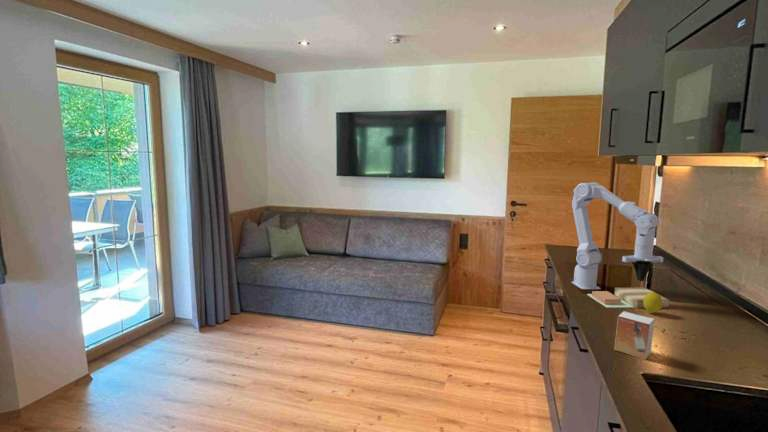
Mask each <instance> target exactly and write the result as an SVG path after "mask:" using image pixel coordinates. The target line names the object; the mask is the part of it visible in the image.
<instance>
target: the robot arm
mask: <svg viewBox="0 0 768 432" xmlns="http://www.w3.org/2000/svg"><path fill="white" fill-rule="evenodd" d="M572 190H573V198H572V201H571V207H572V212H573V218H574V223H575V229H576V233H577V238H578V243H579V245H578V247H577V248H576V258H575V260H576V262H577V264H576V265H575V267H574V272H573V281H571V283H572V284H573V285H574V286H576V287H578V288H579V289H580V290H601V287H600V286H597V281H598V271H599V270H598V269H599V264H600V263H601V262H602V259H603V256H602V254H601V252H600V250H599V247H598V245H597V244H596V243H595V242H594V239H593V232H592V228H591V224H590V217H589V212H588V207H587V206H588V205H589V204H590V202H592V200H594V199H601V200H603V201H605V202H607V203H608V204H609V205H612V206H613V207H615V208H617V210H618V212H619V214H621V215H622V216H624V217H625V218H626V219H627V220H629V221H631V222H633V223H634V225H635V227H636V235H635V236H636V237H635V244H634V245H635V246H634V252H633V254H634V255H633V254H632V255H623V256H622V259H621V262H624V263H631V264H632V266H633V268H634V271H635V274H636V275H635V276H636V280H637V281H639V282H645V279H646V276H647V275H648V273H649V271H650V270H651V269H652V267H653V266H654V263H664V257H663V256H660V255H659V256H658V255H653V251H654V243H655V235H656V234H655V233H656V227H657V226H658V225H659V223H660V219H659V217H658V216H657V215H656V214H655V213H653V212H648V210H647V209H643V208H641V207H639V206H638V205H637V203H636V202H635V201H630V200H629V201H624V200H623V199H622V198H620V197H619V196H617V195H615V194H614V193H613V192H611V191H610V190H608V189H607V188H606V187H605V186H603V185H601V184H599V183H598V182H596V181H593V182H581V183H579V184H577V185H576V187H575V188H574V189H572Z"/></svg>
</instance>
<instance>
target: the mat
mask: <svg viewBox="0 0 768 432" xmlns="http://www.w3.org/2000/svg"><path fill="white" fill-rule="evenodd" d="M586 296H588V297H590V298H591V299H593V300H594V301H596V302H597V303H599V304H600V305H602V306H604V307H605V308H607V309H635V307H634V306H633V305H631V304H629V303H627V302H626V301H624V300H622V299H621V298H620V299H621V304H603V303H602V302H600V301H599V300H597V299H596V298H594V297H593V296H592V293H587V294H586Z"/></svg>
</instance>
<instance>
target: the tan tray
mask: <svg viewBox="0 0 768 432" xmlns="http://www.w3.org/2000/svg"><path fill="white" fill-rule="evenodd" d="M650 292H653V290H651V289H648V288H646V287H614V294H613V295H615V296H616V297H618V298H620V299H622V300H623V301H625V302H627V303H628V304H630V305H632V306H633V307H634V308H636V309H645V307H644V305H643V300H644V297H645V295H646V294H648V293H650ZM657 294H658V295H660V294H659V293H657ZM660 297H661V299H662V307H661V309H667V308H666V307H670V299H668V298H666V297H664V296H663V295H660Z"/></svg>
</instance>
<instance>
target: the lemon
mask: <svg viewBox="0 0 768 432" xmlns="http://www.w3.org/2000/svg"><path fill="white" fill-rule="evenodd" d="M658 294H659V293H657V292H656V291H652V292H650V293H648V294H646V295H645V297H644V300H643V305H644V307H645V308H644V309H645V310H646V311H647V312H649V313H650V314H654V313H657V312H659V311H661V309H662V308H661V307H662V299H661V297H660V294H659V295H658Z"/></svg>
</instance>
